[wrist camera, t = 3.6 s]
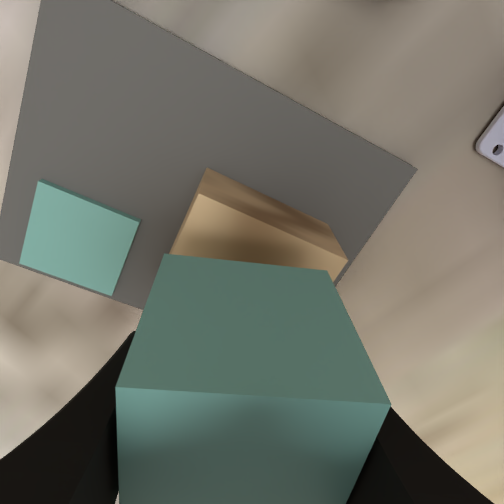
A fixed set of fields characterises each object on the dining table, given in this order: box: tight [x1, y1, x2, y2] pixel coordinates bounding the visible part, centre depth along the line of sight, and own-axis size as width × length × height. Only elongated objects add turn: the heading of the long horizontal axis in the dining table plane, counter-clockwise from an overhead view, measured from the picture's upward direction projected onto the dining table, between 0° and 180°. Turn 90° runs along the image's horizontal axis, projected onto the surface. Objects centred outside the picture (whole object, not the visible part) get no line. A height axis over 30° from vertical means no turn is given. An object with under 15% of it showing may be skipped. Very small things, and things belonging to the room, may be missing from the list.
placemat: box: [0, 0, 417, 310], centre depth 19 cm, size 18×14×1 cm
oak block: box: [169, 168, 348, 282], centre depth 18 cm, size 7×7×4 cm
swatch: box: [19, 179, 141, 296], centre depth 19 cm, size 5×5×1 cm
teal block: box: [115, 254, 391, 504], centre depth 11 cm, size 6×6×6 cm
